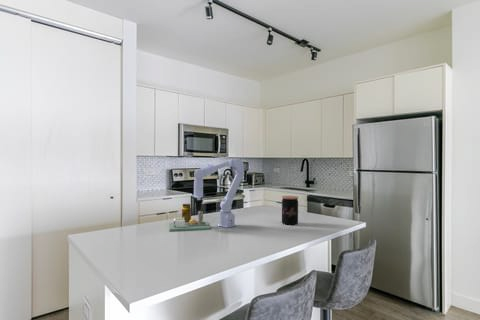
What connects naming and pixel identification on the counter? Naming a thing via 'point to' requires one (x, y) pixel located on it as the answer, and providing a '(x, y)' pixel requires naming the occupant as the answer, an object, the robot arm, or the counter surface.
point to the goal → (179, 222)
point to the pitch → (190, 227)
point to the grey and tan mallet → (200, 217)
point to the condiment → (186, 212)
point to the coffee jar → (290, 210)
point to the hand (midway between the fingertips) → (198, 209)
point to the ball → (192, 221)
